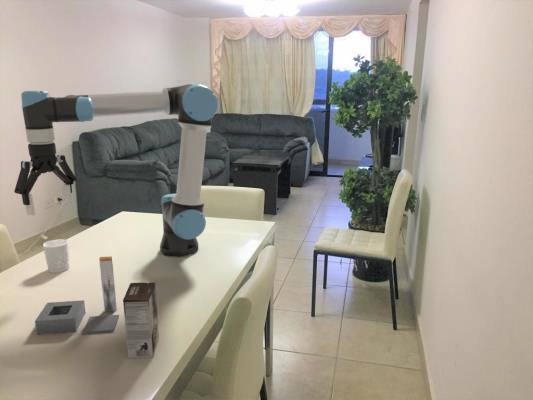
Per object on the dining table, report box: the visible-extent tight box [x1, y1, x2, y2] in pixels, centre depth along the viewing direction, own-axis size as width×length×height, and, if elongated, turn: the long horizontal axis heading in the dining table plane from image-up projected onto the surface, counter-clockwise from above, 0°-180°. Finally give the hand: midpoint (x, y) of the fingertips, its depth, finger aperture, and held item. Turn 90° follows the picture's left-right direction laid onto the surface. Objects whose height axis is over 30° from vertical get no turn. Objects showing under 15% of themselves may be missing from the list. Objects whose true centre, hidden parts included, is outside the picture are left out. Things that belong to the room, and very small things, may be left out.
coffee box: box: [122, 281, 160, 359], centre depth 108 cm, size 9×6×16 cm
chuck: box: [34, 299, 86, 335], centre depth 121 cm, size 10×10×4 cm
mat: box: [82, 314, 120, 335], centre depth 120 cm, size 8×8×1 cm
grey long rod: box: [98, 256, 118, 314], centre depth 126 cm, size 3×3×17 cm
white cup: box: [42, 238, 70, 274], centre depth 154 cm, size 8×8×10 cm
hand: (50, 209), depth 138 cm, fingers open, 13 cm apart
